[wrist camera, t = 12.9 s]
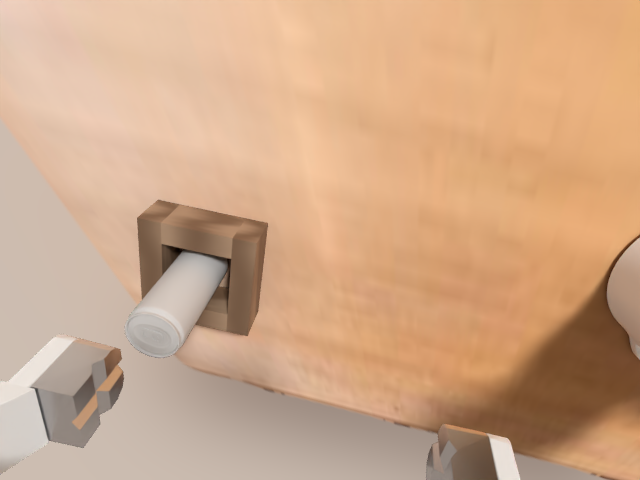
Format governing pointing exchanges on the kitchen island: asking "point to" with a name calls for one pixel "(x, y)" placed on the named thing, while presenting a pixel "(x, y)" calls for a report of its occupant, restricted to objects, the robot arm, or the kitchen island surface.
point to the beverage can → (175, 303)
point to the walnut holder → (211, 238)
